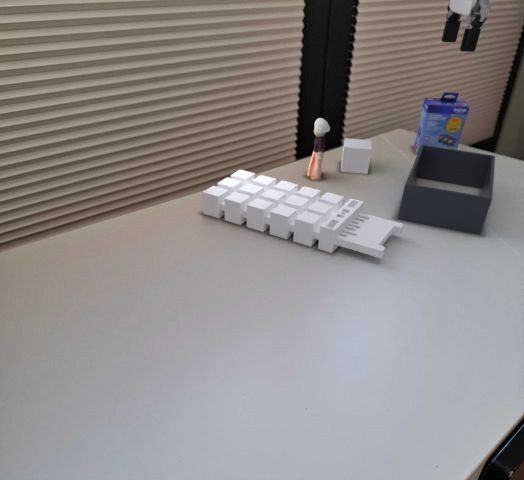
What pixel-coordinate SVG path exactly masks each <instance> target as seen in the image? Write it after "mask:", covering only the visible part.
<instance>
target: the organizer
mask: <svg viewBox="0 0 524 480" xmlns="http://www.w3.org/2000/svg"><path fill="white" fill-rule="evenodd" d="M344 201H345V196H344V195H340V194H336V193H332V192H329V191H327V192H325V193H323V195H322V196H321V190H320V189H318V188H317V189H316V188H312V187H309V186H306V185H303V186H302V187H301V188H299V184H297V183H293V182H290V181H286V180H280V181H278V183H277V178H274V177H271V176H266V175H264V174H260V175H258V176H257V177H256V173H255V172H252V171H247V170H243V169H238V170H237V171H235V172H234V173H232V174H230V177H228V176H227V177H225V178H224V179H222V180H220V181H218V182H217V183H216V185H212V186H210V187H208V188H207V189H205V190H203V191H202V211H203V215H206V216H209V217H213V218H217V219H220V218H222V217H223V216H224V221H226V222H229V223H233V224H236V225H239V226H242V225H243V224H244V223H245V222H246V228H249V229H252V230H256V231H257V232H258V231H259V232H261V233H264V232H266V231H267V230H268V229H269V235H271V236H275V237H278V238H282V239H284V240H287V239H289V238H290V237H291V236H292V235H293V238H292V239H293V240H292V242H294V243H298V244H301V245H304V246H307V247H311V248H312V247H313V245H315V243H317V242H318V245H317V250H320V251H323V252H327V253H330V254H332V253H333V252H334V251H335V250H337V248H338V247H342V248H345V249H349V250H352V251H355V252H359V253H362V254H365V255H367V256H372V257H375V258H380V259H381V258H383V257H384V256H385V255H384V254H385V250H386V246H384V244H386V241H387V240H388V239H389V238H390V237H391V235H392V234H395V235H401V234H402V233H403V228H404V223H401V222H398V221H395V220H390V219H386V218H384V217H383V218H382V217H379V216H376V215H372V214H368V213H364V212H363V210H364V204H365V201H363V200H359V199H355V198H352V197H351V198H349V199H348V200H347V201H346V202H345V203H344Z"/></svg>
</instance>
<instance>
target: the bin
mask: <svg viewBox="0 0 524 480" xmlns="http://www.w3.org/2000/svg"><path fill="white" fill-rule="evenodd" d="M495 165H496V155H493V154H488V153H487V154H485V153H479V152H472V151H468V150H467V151H466V150H460V149H457V150H454V149H447V148H441V147H434V146H428V145H421V147H420V149H419V152H418V154H416V156H415V159H414V162H413V164H412V167H411V168H410V171H409V174H408V177H407V179H406V181H405V184H404V188H403V193H402V198H401V202H400V207H399V211H398V215H397V220H398V221H405V222H409V223H416V224H419V225H426V226H430V227H436V228H441V229H447V230H452V231H458V232H461V233H462V232H463V233H466V234H467V233H468V234H473V235H479V236H480V235H481V233H482V230H483V227H484V224H485V220H486V218H487V215H488V212H489V210H490V207H491V204H492V201H493V193H494V181H495V167H496V166H495ZM417 179H422V180H423V179H424V180H429V181H435V182H440V183H441V182H442V183H446V184H452V185H458V186H464V187H470V188H477V189H481V192H480V195H479V194H478V195H477V194H471V193H466V192H460V191H455V190H454V191H453V190H448V189H442V188H437V187H432V186H431V187H430V186H427V185H426V186H425V185H420V184H415V182H416V180H417Z"/></svg>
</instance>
